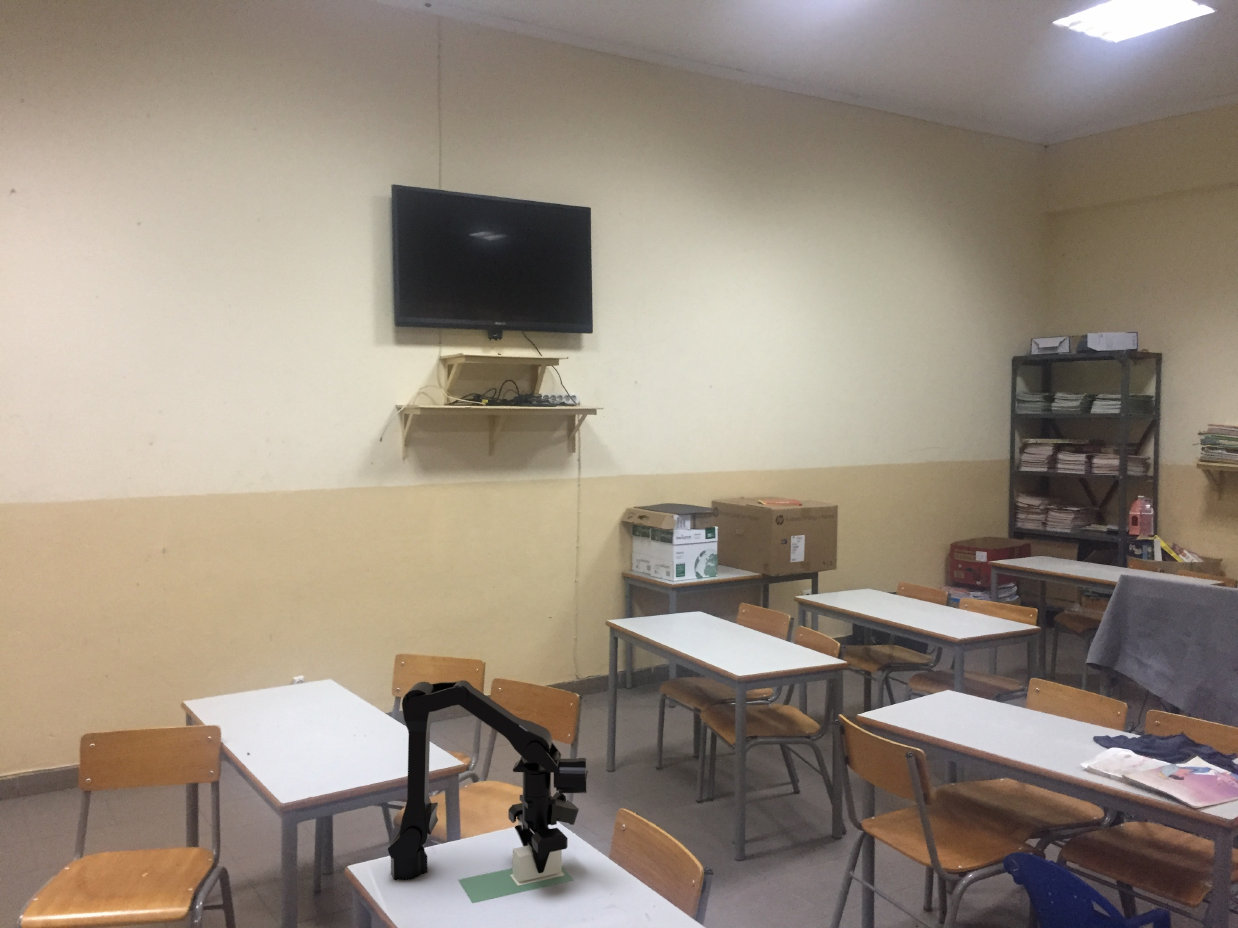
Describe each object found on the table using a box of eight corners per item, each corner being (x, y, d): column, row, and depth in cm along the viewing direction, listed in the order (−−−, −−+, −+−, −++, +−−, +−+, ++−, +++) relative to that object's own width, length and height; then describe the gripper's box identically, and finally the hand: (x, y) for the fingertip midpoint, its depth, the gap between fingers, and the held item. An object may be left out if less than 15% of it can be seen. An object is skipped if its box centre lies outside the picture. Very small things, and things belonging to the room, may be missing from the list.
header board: (472, 907, 176) (472, 889, 176) (458, 884, 185) (458, 867, 185) (574, 884, 185) (574, 867, 185) (555, 863, 194) (555, 846, 194)
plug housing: (519, 881, 183) (519, 856, 183) (512, 872, 186) (512, 848, 186) (561, 872, 187) (561, 847, 187) (554, 863, 190) (554, 839, 190)
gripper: (592, 801, 181) (592, 879, 182) (557, 769, 198) (557, 841, 198) (538, 811, 176) (538, 892, 177) (507, 778, 193) (507, 851, 194)
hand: (537, 867), depth 187 cm, fingers closed on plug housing, 4 cm apart
